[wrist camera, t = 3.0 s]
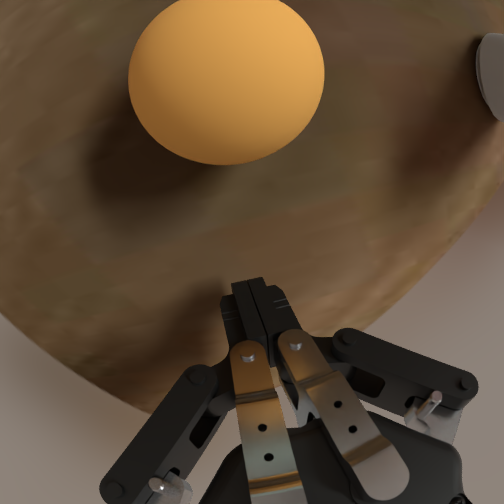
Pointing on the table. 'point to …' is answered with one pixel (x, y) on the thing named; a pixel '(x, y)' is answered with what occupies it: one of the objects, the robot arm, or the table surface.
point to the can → (492, 72)
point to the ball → (226, 79)
